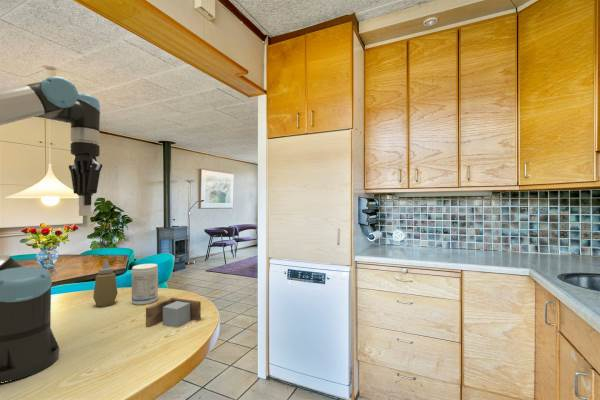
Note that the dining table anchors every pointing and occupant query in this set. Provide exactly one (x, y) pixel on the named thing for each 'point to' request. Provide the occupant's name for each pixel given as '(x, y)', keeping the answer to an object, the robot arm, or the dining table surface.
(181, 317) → the grey block
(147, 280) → the supplement tub
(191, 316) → the corner fence
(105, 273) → the squeeze bottle
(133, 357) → the dining table surface
